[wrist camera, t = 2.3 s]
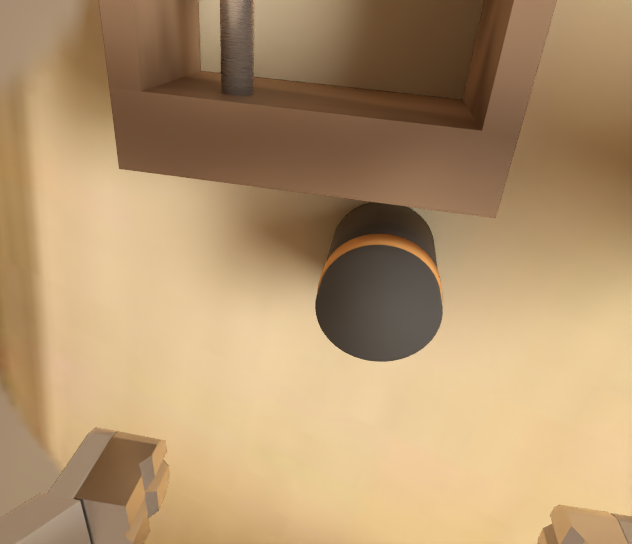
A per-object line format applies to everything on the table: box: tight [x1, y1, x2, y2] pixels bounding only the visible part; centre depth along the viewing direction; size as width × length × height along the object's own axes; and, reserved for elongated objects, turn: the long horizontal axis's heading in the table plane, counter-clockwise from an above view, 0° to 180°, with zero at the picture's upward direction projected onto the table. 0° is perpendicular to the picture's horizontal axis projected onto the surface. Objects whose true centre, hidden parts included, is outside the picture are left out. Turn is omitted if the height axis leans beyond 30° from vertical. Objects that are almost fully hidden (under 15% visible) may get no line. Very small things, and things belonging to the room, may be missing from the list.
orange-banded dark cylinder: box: [315, 202, 442, 361], centre depth 19 cm, size 4×4×5 cm
